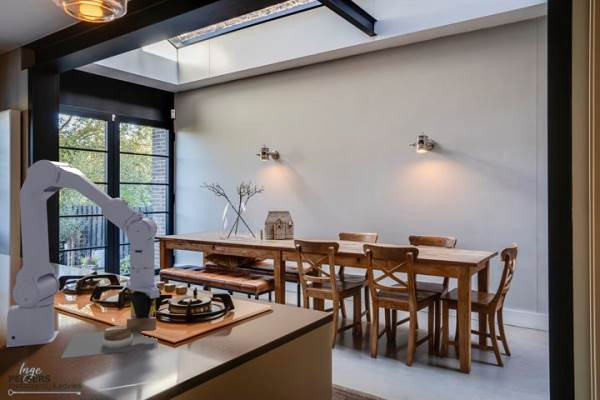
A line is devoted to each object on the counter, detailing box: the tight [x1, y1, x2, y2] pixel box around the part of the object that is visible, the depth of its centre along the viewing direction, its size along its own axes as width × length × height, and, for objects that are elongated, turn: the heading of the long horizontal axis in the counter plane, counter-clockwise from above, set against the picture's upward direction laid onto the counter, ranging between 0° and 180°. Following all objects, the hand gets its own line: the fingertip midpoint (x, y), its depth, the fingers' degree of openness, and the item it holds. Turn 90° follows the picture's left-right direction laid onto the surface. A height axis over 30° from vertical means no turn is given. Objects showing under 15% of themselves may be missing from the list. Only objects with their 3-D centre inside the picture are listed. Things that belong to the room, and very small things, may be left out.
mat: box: [60, 330, 159, 359], centre depth 102 cm, size 20×16×1 cm
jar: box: [103, 335, 132, 348], centre depth 100 cm, size 6×6×2 cm
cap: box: [103, 316, 157, 341], centre depth 101 cm, size 12×6×4 cm, turn 106°
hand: (142, 321), depth 104 cm, fingers closed
